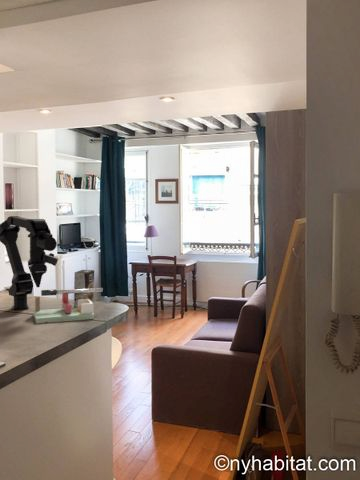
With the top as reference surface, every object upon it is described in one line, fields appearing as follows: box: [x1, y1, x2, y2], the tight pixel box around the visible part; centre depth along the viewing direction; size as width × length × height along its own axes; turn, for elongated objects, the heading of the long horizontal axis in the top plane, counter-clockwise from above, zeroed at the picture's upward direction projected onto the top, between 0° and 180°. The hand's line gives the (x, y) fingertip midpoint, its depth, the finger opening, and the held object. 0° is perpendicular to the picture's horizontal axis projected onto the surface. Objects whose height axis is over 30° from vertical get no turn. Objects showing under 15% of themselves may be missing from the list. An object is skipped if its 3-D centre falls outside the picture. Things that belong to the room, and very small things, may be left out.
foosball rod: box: [40, 287, 104, 313], centre depth 189 cm, size 10×26×8 cm, turn 113°
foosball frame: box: [33, 294, 95, 324], centre depth 186 cm, size 13×23×8 cm, turn 113°
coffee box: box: [73, 269, 95, 308], centre depth 207 cm, size 9×6×16 cm
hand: (37, 285), depth 189 cm, fingers open, 9 cm apart
